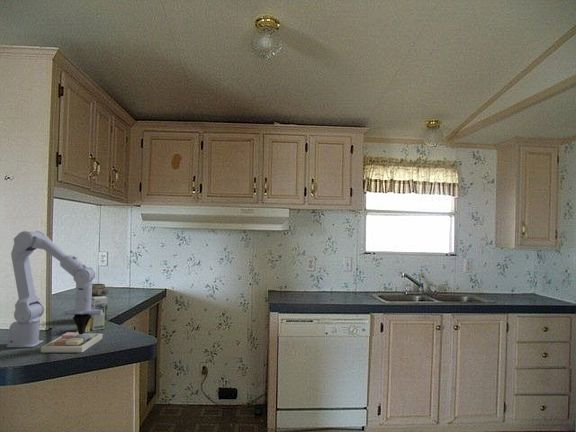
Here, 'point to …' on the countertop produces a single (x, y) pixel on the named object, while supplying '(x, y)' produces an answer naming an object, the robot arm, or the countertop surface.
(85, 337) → the key slate
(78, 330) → the robot arm
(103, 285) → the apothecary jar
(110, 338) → the countertop surface
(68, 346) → the cream shallow tray
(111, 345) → the countertop surface
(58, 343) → the key terracotta
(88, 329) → the supplement bottle
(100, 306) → the syrup box
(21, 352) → the countertop surface
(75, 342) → the block
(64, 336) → the key rose
